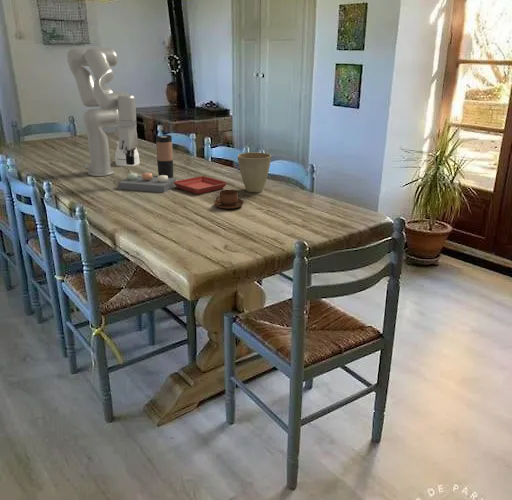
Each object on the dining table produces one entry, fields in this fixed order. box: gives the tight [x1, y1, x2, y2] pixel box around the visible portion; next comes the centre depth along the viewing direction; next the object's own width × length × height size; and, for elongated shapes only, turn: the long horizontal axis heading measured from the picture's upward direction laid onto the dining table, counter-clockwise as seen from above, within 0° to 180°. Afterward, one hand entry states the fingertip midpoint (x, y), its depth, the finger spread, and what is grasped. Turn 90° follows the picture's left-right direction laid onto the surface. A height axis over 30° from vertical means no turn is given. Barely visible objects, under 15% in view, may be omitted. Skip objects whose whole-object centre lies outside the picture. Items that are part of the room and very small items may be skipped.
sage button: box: [126, 172, 138, 180], centre depth 238 cm, size 5×5×2 cm
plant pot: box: [237, 151, 272, 193], centre depth 231 cm, size 15×15×16 cm
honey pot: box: [114, 140, 141, 167], centre depth 281 cm, size 13×13×18 cm
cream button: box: [157, 175, 168, 182], centre depth 235 cm, size 5×5×2 cm
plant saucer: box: [173, 175, 228, 195], centre depth 237 cm, size 18×18×3 cm
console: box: [118, 175, 177, 193], centre depth 238 cm, size 22×14×3 cm, turn 77°
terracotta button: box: [141, 172, 154, 180], centre depth 236 cm, size 5×5×2 cm
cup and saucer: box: [213, 189, 244, 210], centre depth 210 cm, size 12×12×6 cm
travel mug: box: [155, 134, 174, 178], centre depth 253 cm, size 8×8×20 cm
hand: (130, 164), depth 237 cm, fingers closed
